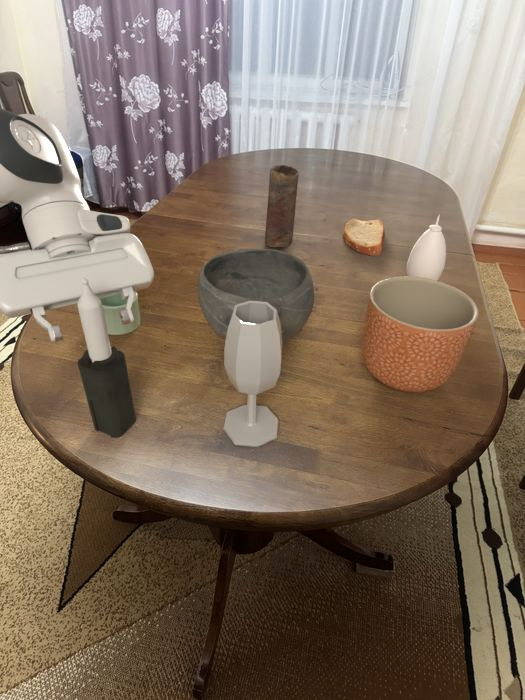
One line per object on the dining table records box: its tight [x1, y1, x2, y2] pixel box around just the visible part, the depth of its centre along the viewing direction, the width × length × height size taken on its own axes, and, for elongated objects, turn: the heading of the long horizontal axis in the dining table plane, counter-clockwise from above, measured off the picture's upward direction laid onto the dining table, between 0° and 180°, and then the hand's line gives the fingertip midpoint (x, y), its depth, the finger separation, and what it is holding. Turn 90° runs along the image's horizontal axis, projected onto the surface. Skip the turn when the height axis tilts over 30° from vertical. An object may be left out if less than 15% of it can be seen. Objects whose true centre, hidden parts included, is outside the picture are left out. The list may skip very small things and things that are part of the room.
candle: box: [76, 278, 137, 439], centre depth 64 cm, size 5×5×25 cm
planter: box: [361, 275, 480, 393], centre depth 79 cm, size 17×17×15 cm
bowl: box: [197, 248, 315, 344], centre depth 87 cm, size 21×21×15 cm
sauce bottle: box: [405, 214, 447, 281], centre depth 104 cm, size 8×8×18 cm
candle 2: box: [264, 164, 300, 249], centre depth 120 cm, size 8×7×20 cm
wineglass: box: [222, 301, 284, 448], centre depth 66 cm, size 9×9×21 cm
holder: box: [100, 291, 142, 336], centre depth 92 cm, size 8×8×6 cm
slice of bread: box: [342, 218, 386, 257], centre depth 131 cm, size 18×18×4 cm
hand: (94, 331), depth 63 cm, fingers open, 8 cm apart
